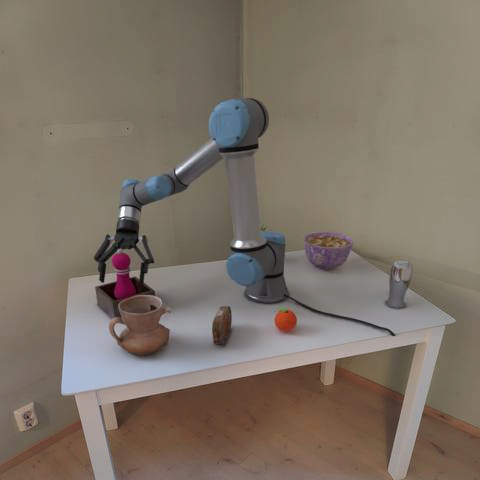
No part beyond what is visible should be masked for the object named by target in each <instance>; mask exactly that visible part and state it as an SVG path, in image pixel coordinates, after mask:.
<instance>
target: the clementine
mask: <svg viewBox="0 0 480 480" xmlns="http://www.w3.org/2000/svg"><path fill="white" fill-rule="evenodd" d="M277 311H278V312H277ZM276 312H277V313H276ZM274 313H276V314H275V316H274V325H275V326H276V329H278V330H279V331H281V332H285V333H288V332H291V331H293V330H294V329H295V328H296V327H297V323H298V317H297V315H296V313H295V312H294V311H292V310H291V309H288V308H277V309H276V310H275V311H274Z"/></svg>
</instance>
